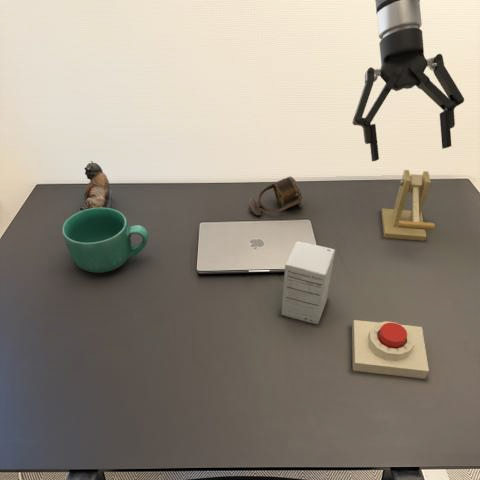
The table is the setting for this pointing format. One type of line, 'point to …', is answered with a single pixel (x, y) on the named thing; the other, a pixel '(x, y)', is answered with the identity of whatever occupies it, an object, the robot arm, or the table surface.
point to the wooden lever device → (405, 211)
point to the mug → (101, 239)
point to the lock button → (392, 335)
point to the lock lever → (415, 207)
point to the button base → (388, 351)
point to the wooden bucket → (279, 196)
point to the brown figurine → (96, 188)
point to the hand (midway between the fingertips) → (410, 154)
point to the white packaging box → (307, 281)
